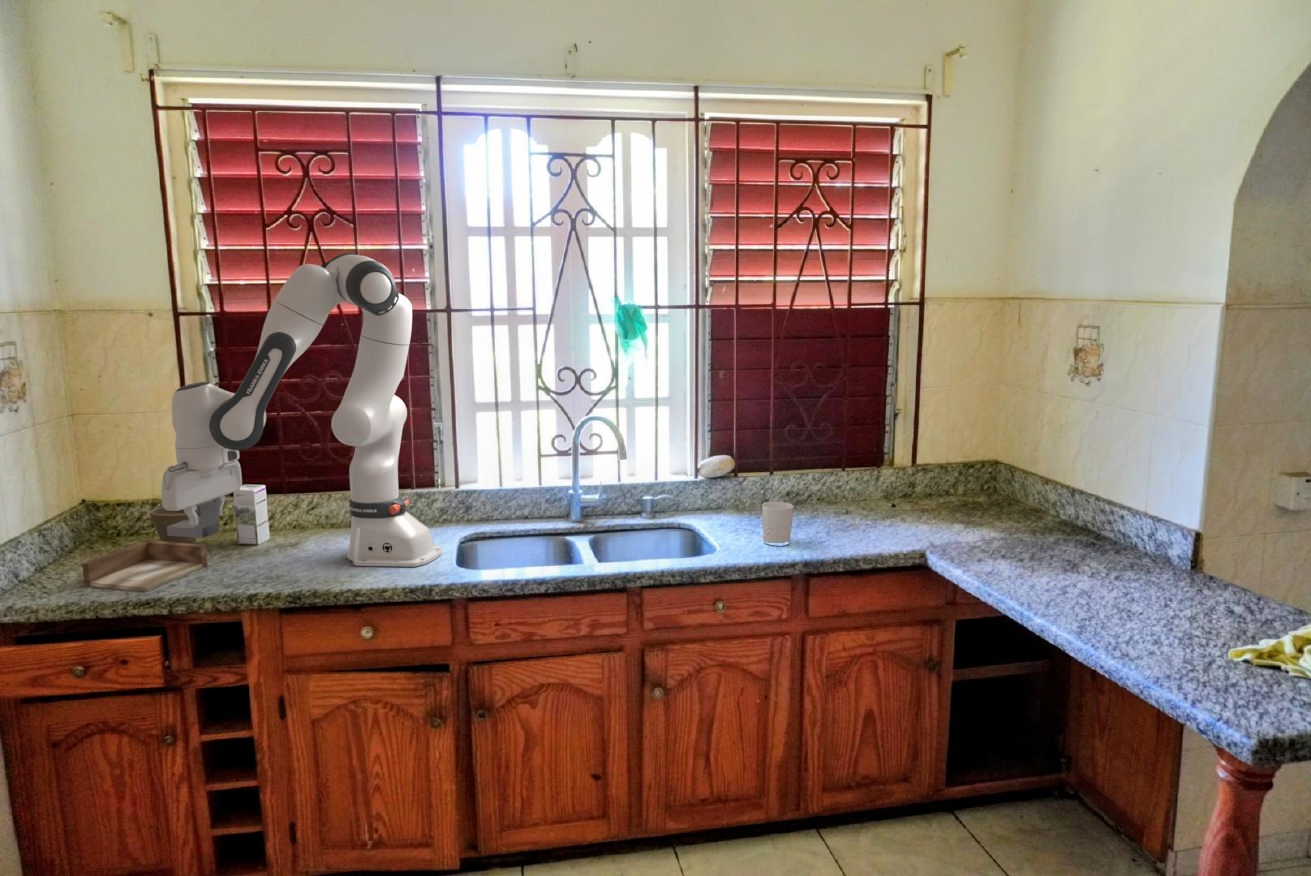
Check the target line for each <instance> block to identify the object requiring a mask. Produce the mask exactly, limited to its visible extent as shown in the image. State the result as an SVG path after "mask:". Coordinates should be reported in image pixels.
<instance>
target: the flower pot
mask: <svg viewBox="0 0 1311 876" xmlns="http://www.w3.org/2000/svg"><path fill="white" fill-rule="evenodd" d="M149 515H150V517H149V518H150V522H151V523H152V524H154V526H155V528H156V531H157V534H158V537H159V539H160V540H159V541H164V542H176V543H188V544H196V539H197V537H181V536H168V534H167V526H170V525H173V524H176V523H179V522H181V521H189V517H188V516H187V515H186V513H185V512H184V510H183V509H182V510H179V511H170V510H165V509H164V507H163V506H160V507H155V508H154V509H152V510H150V512H149Z"/></svg>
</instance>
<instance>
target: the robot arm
mask: <svg viewBox="0 0 1311 876" xmlns="http://www.w3.org/2000/svg"><path fill="white" fill-rule="evenodd" d="M341 303H347V304H349V305H353V306H357V307H358V308H360V309H361V311H362V315H363V316H362V317H363V324H362V326H361V332H360V337H359V343H358V349H357V354H356V357H355V358H356V359H355V362H354V363H355V364H354V367H353V370H352V374H351V377H350V379H349V382H348V385H347V387H346V389H345V392H344V395H343V397H342V399H341V402H340V404H339V405H338V407H337V409H336V410H335V411H334V413H333V415H332V417H331V430H332V432H333V435H334V437H335V438H336V439H337V441H339V442H340V443H342V444H344V445H346V446H351V447H355V448H354V453H353V456H352V460H351V462H350V464H349V469H348V470H349V473H348V474H349V488H350V492H349V493H350V498H349V501H348V506H349V507H348V509H349V516H350V520H351V522H350V524H351V525H350V526H351V527H350V538H349V545H348V549H347V553H346V558H347V559H348V560H350V561H351V562H352V564H353V566H358V567H411V568H412V567H413V568H414V567H420V566H423V565H425V564H428V563H431V562H432V561H434V560H436V559H438V557H440V556H441V555H442V554H443V548H442V546H440V545H435V544H434V543H433V537H432V534H431V533H432V532H431V530H430V528H429V527H427V526H426V525H425V524H423V523H422V522H421V521H419V520H418V519H417V518H416V517H414V516H413V515H411V513H409V512H408V511H407V509H406V506H408V505H409V504H410V500H409V499H407V500H403V499H402V497H401V495H400V494H399V493H400V492H399V456H400V450H401V444H402V443H401V442H402V437H403V428H404V425H405V423H406V420H407V417H408V410H407V407H406V403H404V401H403V400H402V399H401V398H400V397H399V396H397V395H395V394H396V391H397V389H398V387H399V385H400V382H401V381H402V380H403V379H404V377H405V371H406V370H405V369H406V364H407V360H408V354H409V349H410V344H411V338H412V337H411V336H412V330H413V306H412V302H410V300H409V299H408V298H407V297H406V296H405V295H403V294H401V293H399V292H398V289H397V284H396V280H395V277H394V275H393V274H392V272H391V271H390V269H389V268H388V267H386V265H384V264H383V263H381V262H379V261H376V260H375V259H374V258H372V257H368V256H365V255H361V254H360V255H359V254H357V253H352V252H346V253H341V254H338V255H336V256H334V257H332V258H331V259H330V260H328V261H327V262H324V263H323V264H321V265H318V264H313V263H304V264H301V265H300V266H298V267H297V268H296V269H295V270H294V272H293V273H292V274H291V275H289V277H288V278H287V279H286V281H285V283H283V284H282V287H281V288H280V290H279V291H278V293H277V295H276V297H275V298H274V300H273V302H272V303H271V306H270V308H269V310H268V311H267V315H266V317H265V319H264V320H265V321H264V323H263V326H262V329H261V334H260V335H261V336H260V339H259V344H258V347H257V351H256V355H255V356H254V357H255V358H254V359H253V362H252V364H251V365H250V367H249V369H248V371H247V372H246V374H245V376H244V378H243V380H242V381H241V383H240V385H239V386H238V389H237V390H236V392H230V391H228V390H225V389H223V388H220V387H218V386H216V385H214V383H212V382H209V381H199V382H194V383H190V384H186V385H182V386H180V387H178V388H177V389H176V390H175V391H174V392H173V394H172V397H171V419H172V427H173V430H174V432H175V437H176V438H175V441H174V442H175V445H174V447H175V448H174V450H175V457H176V465H169V466H168V467H167V468H166V470H165V471H164V473H163V474H162V480H161V507H164V509H165V510H170V511H179V510H182V509H183V510H184V512H185V513H186V515H187V516H188V517H189V523H190V525H194V526H195V525H198V524H200V523H201V516H197V514H196V512H195V510H196V509H197V508H196V505H197V504H200V503H203V502H206V501H209V500H213V501H217V510H218V518H220V517H223V508H224V504H225V502H226V495H229V494H232V493H233V492H235V491H238V490H240V488H241V485H243V478H242V469H241V464H240V462H239V459H240V451H244V450H246V449H250V448H252V447H253V446H254V445H256V444H257V443H258V442H259V441H260V439H261V437H262V436H263V432H264V428H265V425H266V422H267V417H268V416H267V411H266V409H267V406H268V404H269V402H270V401H271V398H272V397H273V395H274V393H275V391H276V388H277V387H278V385H279V383H280V382H281V379H282V378H283V376H284V375H285V373H286V372H287V370H288V369H289V368H290V367H291V365H293V363H294V362H296V360H298V359H299V357H300V356H302V355H303V354H304V353H305V352H306V351H307V350H308V348H309V347H310V346H311V344H312V343H313V342H314V341H315V339H316V338H317V336H318V335H319V333H320V332H321V330H322V328H323V327H324V325H325V324H326V321H327V319H328V317H329V314H330V313H331V312H332V311H333V309H334V308H335V307H337V306H338V305H339V304H341Z"/></svg>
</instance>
